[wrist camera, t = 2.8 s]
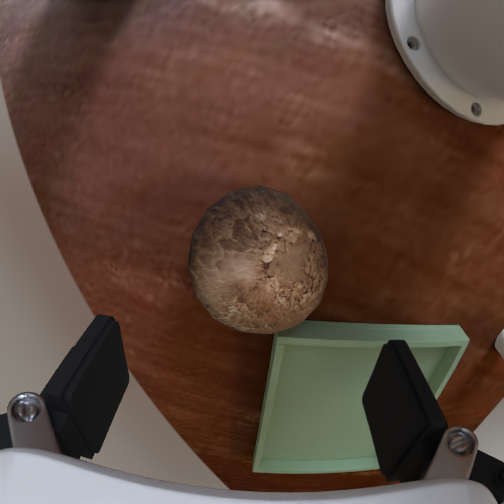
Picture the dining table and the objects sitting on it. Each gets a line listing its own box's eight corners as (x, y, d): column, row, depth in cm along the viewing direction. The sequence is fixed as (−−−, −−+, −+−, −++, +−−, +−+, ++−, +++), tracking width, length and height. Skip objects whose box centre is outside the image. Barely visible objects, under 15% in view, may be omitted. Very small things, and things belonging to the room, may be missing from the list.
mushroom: (180, 333, 19) (214, 364, 13) (167, 201, 19) (196, 175, 13) (292, 313, 22) (354, 328, 17) (283, 198, 22) (343, 179, 16)
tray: (276, 317, 22) (277, 336, 20) (459, 324, 22) (470, 339, 20) (253, 456, 30) (252, 472, 28) (383, 454, 29) (387, 468, 27)
